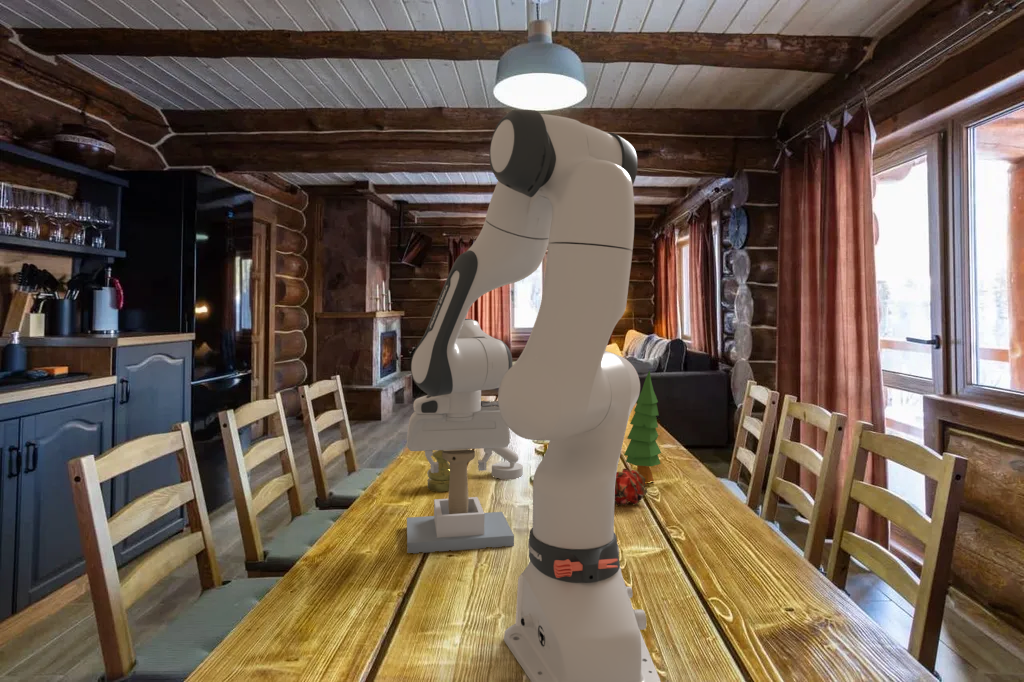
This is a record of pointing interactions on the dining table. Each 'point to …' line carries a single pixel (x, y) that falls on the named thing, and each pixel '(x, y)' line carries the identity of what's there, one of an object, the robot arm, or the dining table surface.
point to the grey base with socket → (458, 529)
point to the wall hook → (507, 465)
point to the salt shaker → (439, 474)
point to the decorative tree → (644, 432)
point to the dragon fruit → (629, 487)
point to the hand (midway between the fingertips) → (458, 471)
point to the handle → (458, 479)
